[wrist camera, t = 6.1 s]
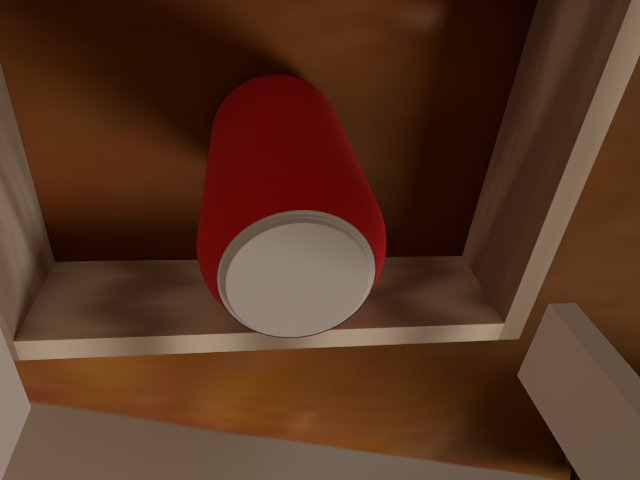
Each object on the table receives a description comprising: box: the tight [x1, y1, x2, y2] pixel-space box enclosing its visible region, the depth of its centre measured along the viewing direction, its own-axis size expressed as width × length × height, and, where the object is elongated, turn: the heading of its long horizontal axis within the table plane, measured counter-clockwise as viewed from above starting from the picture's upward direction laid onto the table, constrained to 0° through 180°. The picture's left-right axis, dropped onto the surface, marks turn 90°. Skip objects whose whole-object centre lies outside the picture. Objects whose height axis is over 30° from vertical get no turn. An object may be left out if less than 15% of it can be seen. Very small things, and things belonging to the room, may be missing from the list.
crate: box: [0, 0, 640, 361], centre depth 22 cm, size 26×18×6 cm
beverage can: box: [197, 74, 386, 338], centre depth 19 cm, size 6×6×12 cm
